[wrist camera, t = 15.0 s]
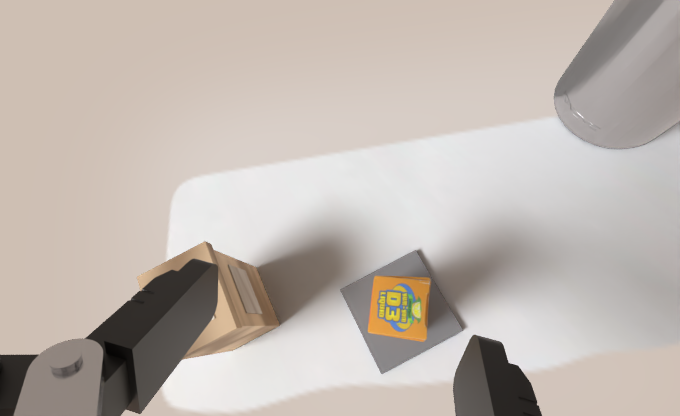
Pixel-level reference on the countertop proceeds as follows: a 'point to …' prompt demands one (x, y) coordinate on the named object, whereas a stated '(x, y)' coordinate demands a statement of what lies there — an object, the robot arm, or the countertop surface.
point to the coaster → (394, 349)
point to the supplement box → (400, 307)
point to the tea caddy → (226, 301)
